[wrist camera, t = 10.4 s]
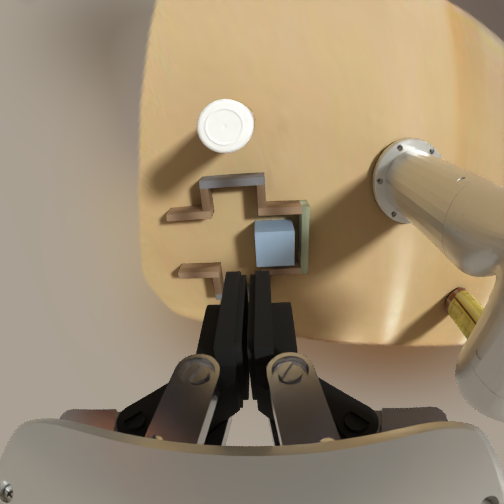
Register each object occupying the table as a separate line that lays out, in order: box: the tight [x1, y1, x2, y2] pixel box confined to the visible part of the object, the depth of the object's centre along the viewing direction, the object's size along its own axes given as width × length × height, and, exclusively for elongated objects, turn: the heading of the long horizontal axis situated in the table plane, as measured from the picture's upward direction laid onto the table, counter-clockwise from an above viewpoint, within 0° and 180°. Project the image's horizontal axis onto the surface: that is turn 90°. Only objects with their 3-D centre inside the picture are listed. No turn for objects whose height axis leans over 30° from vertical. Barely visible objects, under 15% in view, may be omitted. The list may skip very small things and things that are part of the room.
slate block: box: [255, 219, 295, 267], centre depth 38 cm, size 5×5×4 cm
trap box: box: [166, 173, 310, 300], centre depth 39 cm, size 18×18×2 cm
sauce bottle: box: [445, 288, 484, 339], centre depth 36 cm, size 7×6×20 cm
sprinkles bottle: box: [197, 99, 255, 153], centre depth 26 cm, size 5×5×13 cm
